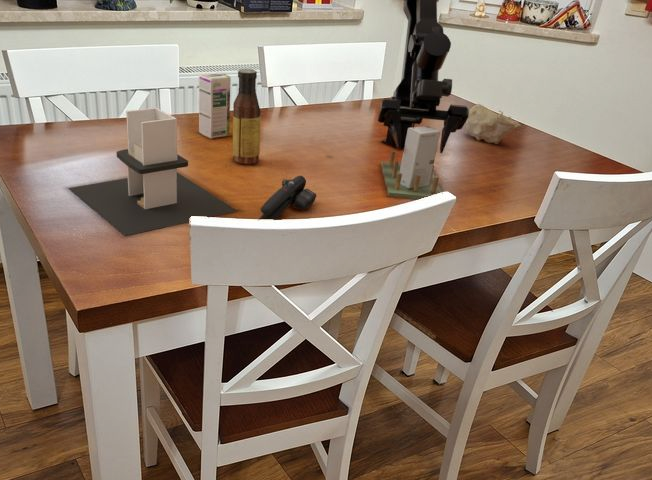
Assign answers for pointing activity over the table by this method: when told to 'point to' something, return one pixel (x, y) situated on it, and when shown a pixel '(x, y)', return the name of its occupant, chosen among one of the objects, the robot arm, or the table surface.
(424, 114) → the robot arm
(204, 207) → the box holder stand
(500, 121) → the beige lumpy chunk
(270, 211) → the can opener
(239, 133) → the sauce bottle
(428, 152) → the cosmetic box
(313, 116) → the table surface
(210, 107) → the syrup box
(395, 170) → the plate rack
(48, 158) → the table surface
